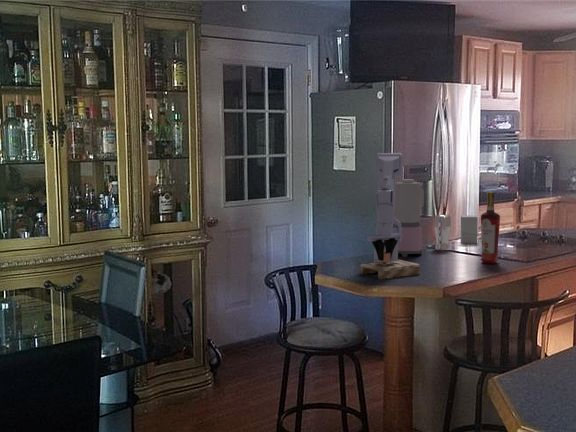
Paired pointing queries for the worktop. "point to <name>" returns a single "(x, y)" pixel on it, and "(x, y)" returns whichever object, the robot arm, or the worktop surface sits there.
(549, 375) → the worktop surface
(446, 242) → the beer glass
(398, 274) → the keyhole plate
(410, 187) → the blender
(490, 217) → the liquor
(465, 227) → the supplement box
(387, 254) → the keyhole peg
